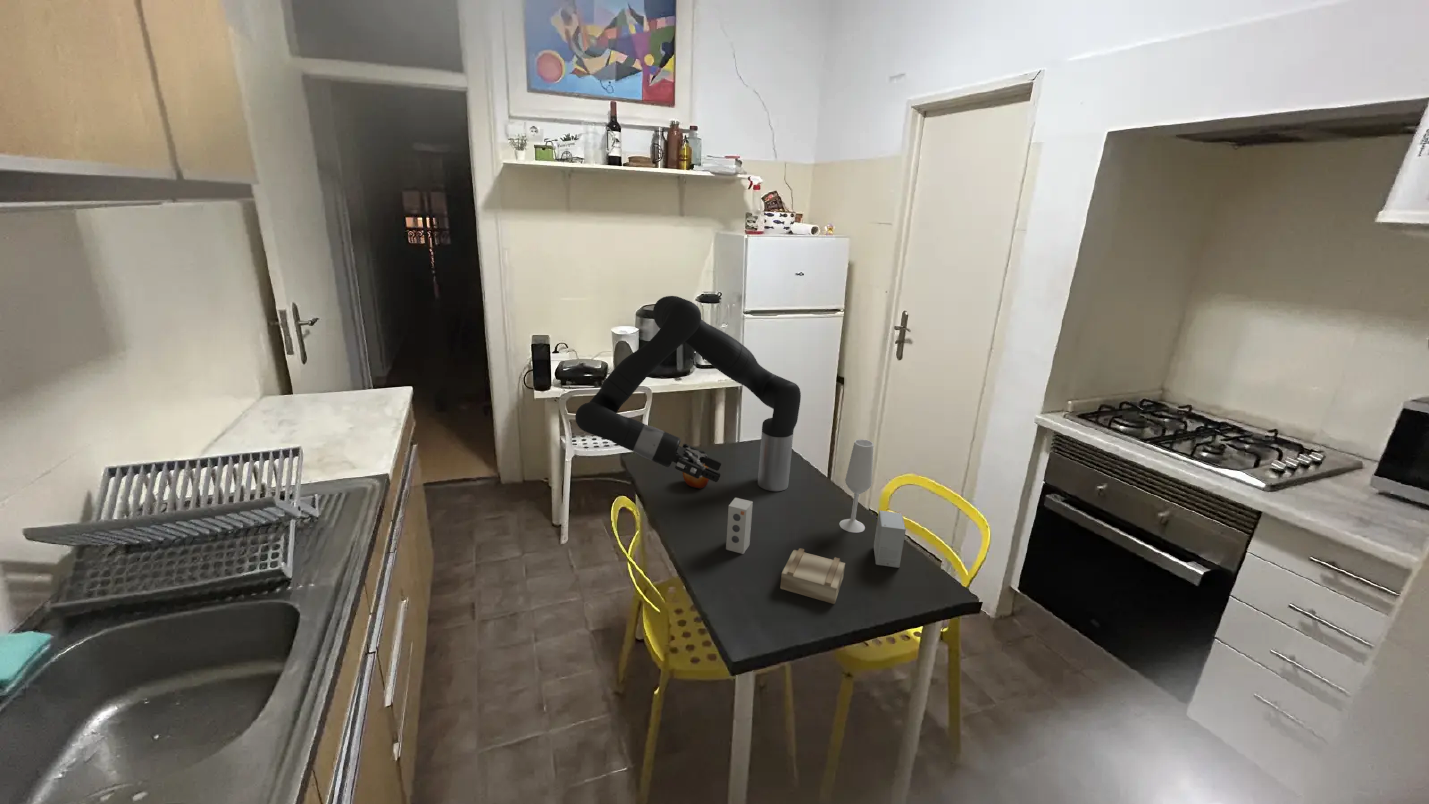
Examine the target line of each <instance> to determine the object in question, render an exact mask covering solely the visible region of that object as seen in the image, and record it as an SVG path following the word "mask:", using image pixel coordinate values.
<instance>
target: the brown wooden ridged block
mask: <svg viewBox="0 0 1429 804" xmlns="http://www.w3.org/2000/svg"><path fill="white" fill-rule="evenodd" d="M845 566H846V562H842V561H841V558H840V557H836V556H834V558H833V559H831V558H827V557H823V556H819V555H816V554H812V553H807V552H805V549H804V548H800V547H799V548H798V550H796V549H793V551H792V552H791V554H790V556H789V558H788V560H787V562H786V564H785V566H784V568H783V569H782V572H781V577H780V589H781V590H783V591H784V590H785V591H787V592H791V593H794V594H797V595H798V594H799V595H800V596H801V595H802V596H805V597H809V598H812V599H816V600H817V601H818V600H819V601H822V602H826V603H829V604H832V605H835V604H836V602H837V598H838V595H839V592H840V589H841V586H842V583H843V580H844V576H845V575H844V574H845Z"/></svg>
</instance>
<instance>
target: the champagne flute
mask: <svg viewBox="0 0 1429 804" xmlns="http://www.w3.org/2000/svg"><path fill="white" fill-rule="evenodd" d="M874 447H875V445H874V442H872V441H871V440H868V439H864V438H862V439H861V438H859V439H855V440H854V443H853V445H852V451H851V454H850V459H849V461H848V462H849V463H848V467H847V471H846V474H845V475H846V476H845V478H844V480H845V481H844V482H845V485H846V486H847V488H848V489H849V490H850V491H851V492H852V493H853V501H852V507H851V515H850V518H846V519H845V518H844V519H842V520H840V522H839V526H840V529H843V530H844V531H846V532H849V533H857V534H858V533H862V532H864V531H865V529H866V527H865V524H864V523H862V522H861V521H858V520H857V519H856V518H857V512H858V511H857V509H858V504H859V495H861V494H863V493H865V492H867V491H868V490H869V489H870V488H871V487H872V484H873V463H874Z"/></svg>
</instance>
